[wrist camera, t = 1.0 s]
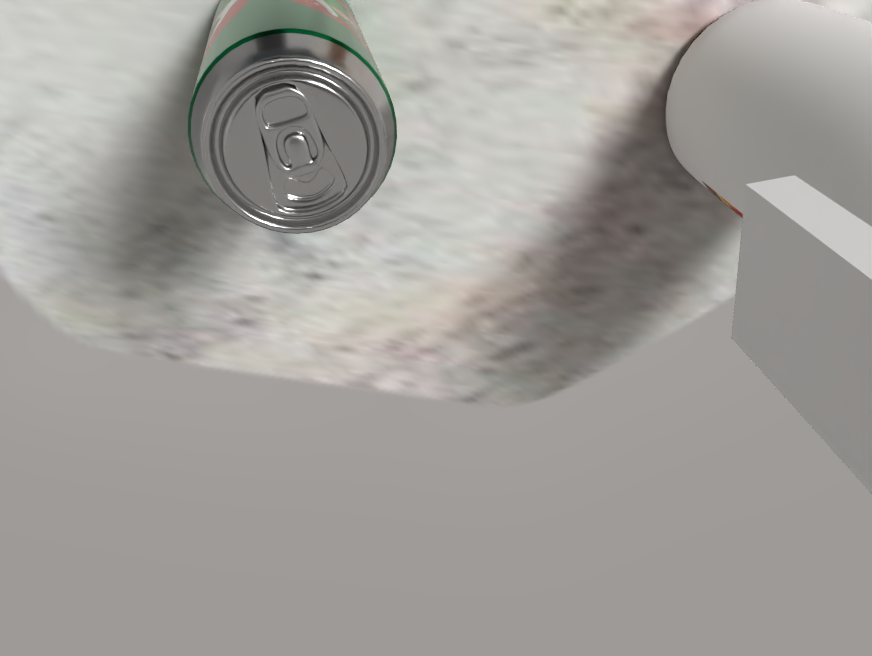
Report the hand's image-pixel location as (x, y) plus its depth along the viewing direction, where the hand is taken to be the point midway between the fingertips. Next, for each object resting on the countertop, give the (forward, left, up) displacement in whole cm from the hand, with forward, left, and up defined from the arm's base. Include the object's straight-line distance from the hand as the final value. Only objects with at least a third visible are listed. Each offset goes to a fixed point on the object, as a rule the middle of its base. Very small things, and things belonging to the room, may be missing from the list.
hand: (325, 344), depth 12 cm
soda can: (0, 0, -21) cm, 21 cm away
